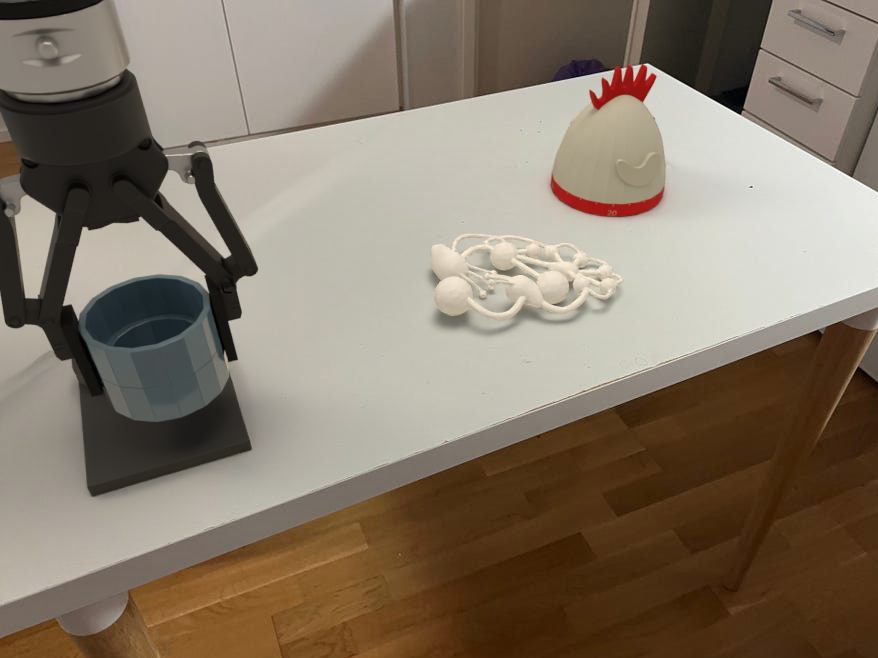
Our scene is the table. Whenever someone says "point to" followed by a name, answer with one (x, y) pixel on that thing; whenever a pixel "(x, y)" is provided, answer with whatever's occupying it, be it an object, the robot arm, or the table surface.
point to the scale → (155, 439)
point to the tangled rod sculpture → (548, 289)
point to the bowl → (155, 346)
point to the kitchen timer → (612, 151)
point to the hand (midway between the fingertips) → (164, 366)
